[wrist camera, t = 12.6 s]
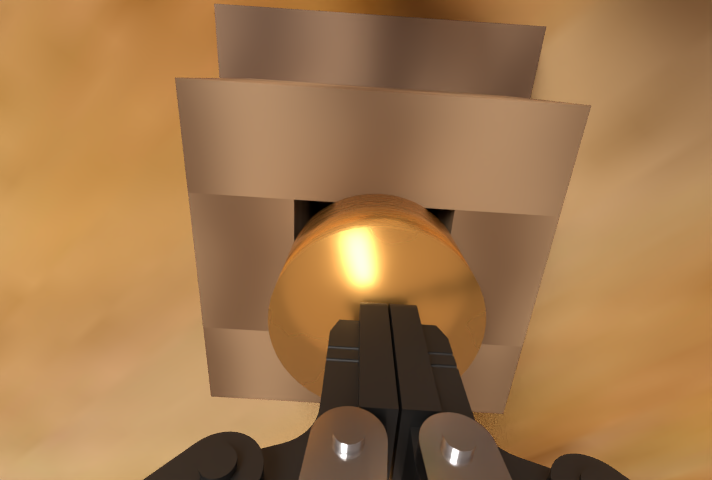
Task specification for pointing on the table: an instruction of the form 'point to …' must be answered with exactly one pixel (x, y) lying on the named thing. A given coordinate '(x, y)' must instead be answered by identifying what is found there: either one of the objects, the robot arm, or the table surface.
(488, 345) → the hitch block
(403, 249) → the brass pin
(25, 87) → the table surface
